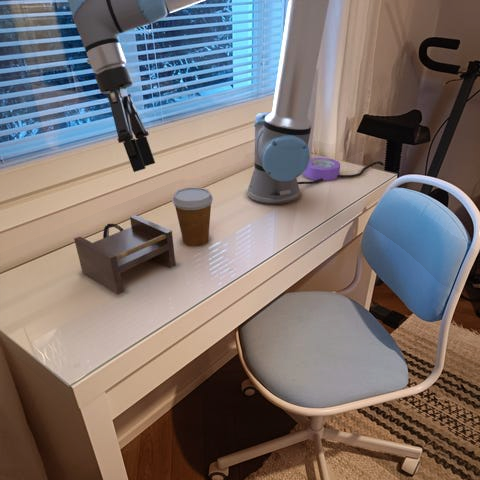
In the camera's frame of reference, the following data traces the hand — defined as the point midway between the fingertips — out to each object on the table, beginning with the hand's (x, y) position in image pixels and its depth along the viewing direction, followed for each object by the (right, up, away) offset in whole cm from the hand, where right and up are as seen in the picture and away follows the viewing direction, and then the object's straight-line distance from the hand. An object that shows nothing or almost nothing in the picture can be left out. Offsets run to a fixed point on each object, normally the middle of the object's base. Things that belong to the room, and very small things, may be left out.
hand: (145, 167), depth 108 cm
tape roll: (+50, +11, +42) cm, 66 cm away
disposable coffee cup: (+12, -17, +5) cm, 21 cm away
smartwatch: (-8, -18, +3) cm, 20 cm away
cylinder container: (+43, +20, +53) cm, 71 cm away
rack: (-2, -25, -7) cm, 26 cm away
